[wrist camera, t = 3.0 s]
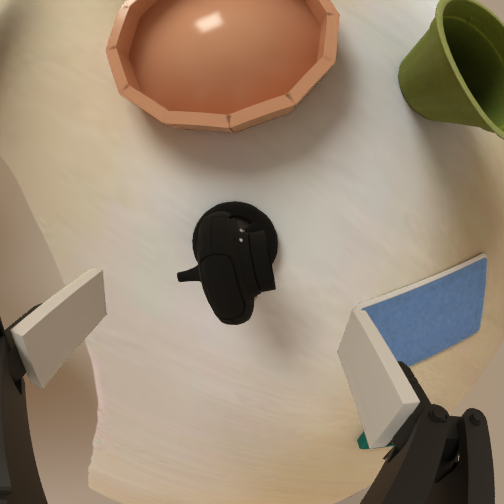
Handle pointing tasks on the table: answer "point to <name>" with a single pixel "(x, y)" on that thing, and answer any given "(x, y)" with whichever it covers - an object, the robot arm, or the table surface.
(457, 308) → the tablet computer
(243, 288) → the webcam
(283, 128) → the table surface
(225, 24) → the bowl
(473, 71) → the plant pot
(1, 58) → the table surface
